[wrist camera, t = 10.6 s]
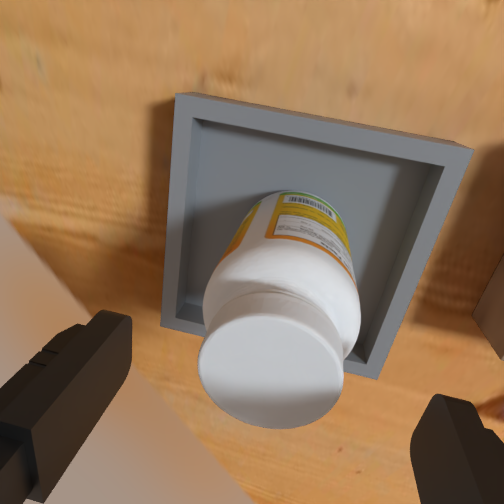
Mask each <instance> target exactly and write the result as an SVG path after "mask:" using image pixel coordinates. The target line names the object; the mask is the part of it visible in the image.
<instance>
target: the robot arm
mask: <svg viewBox="0 0 504 504" xmlns="http://www.w3.org/2000/svg"><path fill="white" fill-rule="evenodd" d="M131 361H132V319H131V317H130V316H127V315H123V314H119V313H115V312H111V311H107V310H101V311H99V312H98V313H97V314H96V315H95V316H94V317H93V318H92V319H91V320H90V322H89V323H88V324H87V325H86V326H85V325H81V324H76V325H74V326H72V327H70V328H68V329H67V330H64V331H62V332H60V333H58V334H57V335H56V336H55V337H54V338H53V339H52V340H51V341H49V342H48V343H47V344H46V345H45V346H44V347H43V348H42V351H41V352H38V353H37V354H36V355H35V356H34V357H33V358H32V359H31V360H29V363H28V364H25V365H24V366H23V367H22V368H21V369H20V370H19V371H18V372H17V373H16V374H15V375H14V376H13V377H12V378H11V379H10V380H8V381H7V382H6V383H5V384H4V385H3V386H2V387H1V388H0V504H23V502H24V501H25V499H26V498H27V499H30V500H33V501H37V502H40V503H44V502H45V501H46V499H47V498H48V496H49V495H50V493H51V492H52V490H53V489H54V487H55V486H56V484H57V483H58V481H59V480H60V478H61V477H62V475H63V473H64V472H65V470H66V469H67V467H68V466H69V464H70V462H71V461H72V460H73V458H74V457H75V455H76V454H77V452H78V450H79V449H80V447H81V446H82V444H83V443H84V442H85V440H86V438H87V437H88V435H89V434H90V433H91V431H92V430H93V428H94V427H95V425H96V423H97V422H98V421H99V419H100V417H101V416H102V414H103V413H104V411H105V410H106V408H107V407H108V405H109V404H110V402H111V401H112V399H113V398H114V396H115V395H116V393H117V392H118V390H119V389H120V387H121V386H122V384H123V383H124V381H125V379H126V377H127V375H128V372H129V369H130V366H131ZM410 457H411V462H412V467H413V471H414V476H415V480H416V484H417V489H418V493H419V497H420V502H421V504H504V443H503V442H502V441H501V440H500V438H499V437H498V436H497V435H496V434H495V433H494V431H493V430H491V429H487V428H484V426H483V424H482V421H481V419H480V417H479V415H478V413H477V411H476V408H475V407H474V405H473V404H472V403H471V402H469V401H466V400H462V399H458V398H454V397H450V396H446V395H442V394H435V395H434V396H433V397H432V399H431V400H430V402H429V404H428V406H427V408H426V410H425V412H424V413H423V415H422V417H421V419H420V421H419V423H418V425H417V426H416V428H415V430H414V432H413V434H412V438H411V443H410Z"/></svg>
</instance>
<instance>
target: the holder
mask: <svg viewBox="0 0 504 504" xmlns="http://www.w3.org/2000/svg"><path fill="white" fill-rule="evenodd" d="M472 317H473V319H474V320H475V322H476V323H477V325H478V326H479V328H480V329H481V331H482V332H483V334H484V335H485V337H486V338H487V340H488V341H489V343H490V344H491V346H492V347H493V349H494V350H495V352H496V353H497V355H498V356H499V358H500V359H501V360H503V361H504V255H503V256H502V258H501V260H500V262H499V264H498V266H497V268H496V270H495V272H494V274H493V276H492V278H491V279H490V281H489V283H488V285H487V287H486V289H485V291H484V293H483V295H482V297H481V299H480V301H479V302H478V304H477V306H476V308H475V310H474V312H473V314H472Z"/></svg>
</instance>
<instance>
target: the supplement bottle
mask: <svg viewBox="0 0 504 504" xmlns="http://www.w3.org/2000/svg"><path fill="white" fill-rule="evenodd" d="M202 309H203V319H204V324H205V327H206V330H207V333H206V335H205V338H204V340H203V342H202V345H201V347H200V350H199V354H198V373H199V377H200V380H201V383H202V385H203V388H204V389H205V391H206V393H207V394H208V395H209V397H210V398H211V399H212V400H213V402H214V403H215V404H216V405H217V406H219V407H220V408H221V409H222V410H223V411H225V412H226V413H228V414H229V415H231V416H233V417H234V418H236V419H238V420H240V421H243V422H245V423H248V424H251V425H254V426H259V427H263V428H270V429H290V428H296V427H300V426H304V425H307V424H310V423H312V422H314V421H316V420H318V419H320V418H321V417H323V416H324V415H325V414H326V413H328V412H329V411H330V410H331V409H332V407H333V406H334V405H335V403H336V402H337V400H338V399H339V396H340V394H341V391H342V387H343V378H344V375H343V360H344V359H345V358H346V357H347V356H348V354H349V353H350V352H351V350H352V348H353V347H354V345H355V343H356V340H357V338H358V335H359V330H360V324H361V311H360V301H359V295H358V290H357V285H356V280H355V275H354V269H353V265H352V259H351V253H350V247H349V241H348V236H347V232H346V228H345V225H344V223H343V220H342V219H341V217H340V215H339V214H338V212H337V211H336V210H335V209H334V208H333V207H332V206H331V205H330V204H329V203H328V202H326V201H325V200H323V199H322V198H320V197H318V196H316V195H314V194H311V193H308V192H303V191H295V190H289V191H281V192H277V193H274V194H271V195H269V196H267V197H265V198H263V199H262V200H260V201H259V202H258V203H256V204H255V205H254V206H253V207H252V208H251V210H250V211H249V212H248V214H247V215H246V216H245V218H244V220H243V221H242V223H241V225H240V227H239V229H238V230H237V232H236V234H235V236H234V238H233V239H232V241H231V243H230V244H229V246H228V248H227V250H226V251H225V253H224V255H223V256H222V258H221V259H220V261H219V263H218V265H217V266H216V268H215V270H214V271H213V273H212V276H211V278H210V280H209V282H208V284H207V287H206V290H205V294H204V299H203V308H202Z"/></svg>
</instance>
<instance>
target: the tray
mask: <svg viewBox="0 0 504 504" xmlns="http://www.w3.org/2000/svg"><path fill="white" fill-rule="evenodd" d="M473 152H474V150H473V149H471V148H469V147H466V146H464V145H461V144H459V143H456V142H454V141H449V140H444V139H438V138H433V137H428V136H422V135H417V134H412V133H407V132H401V131H396V130H391V129H385V128H380V127H375V126H370V125H364V124H359V123H354V122H348V121H343V120H338V119H333V118H327V117H322V116H317V115H311V114H306V113H301V112H296V111H290V110H285V109H280V108H274V107H269V106H264V105H259V104H253V103H248V102H243V101H237V100H232V99H227V98H221V97H216V96H211V95H206V94H200V93H195V92H188V93H175V109H174V124H173V139H172V154H171V170H170V185H169V200H168V215H167V231H166V246H165V261H164V277H163V292H162V307H161V322H160V326H162V327H166V328H170V329H174V330H178V331H182V332H186V333H190V334H194V335H198V336H202V337H205V335H206V333H207V330H206V327H205V324H204V319H203V309H202V308H203V299H204V294H205V290H206V287H207V284H208V282H209V280H210V278H211V276H212V273H213V271H214V270H215V268H216V266H217V265H218V263H219V261H220V259H221V258H222V256H223V255H224V253H225V251H226V250H227V248H228V246H229V244H230V243H231V241H232V239H233V238H234V236H235V234H236V232H237V230H238V229H239V227H240V225H241V223H242V221H243V220H244V218H245V216H246V215H247V214H248V212H249V211H250V210H251V208H252V207H253V206H254V205H255V204H256V203H258V202H259V201H260V200H262V199H263V198H265V197H267V196H269V195H271V194H274V193H277V192H281V191H289V190H295V191H303V192H308V193H311V194H314V195H316V196H318V197H320V198H322V199H323V200H325V201H326V202H328V203H329V204H330V205H331V206H332V207H333V208H334V209H335V210H336V211H337V212H338V214H339V215H340V217H341V219H342V220H343V223H344V225H345V228H346V232H347V236H348V241H349V247H350V253H351V259H352V265H353V269H354V275H355V280H356V285H357V290H358V295H359V301H360V311H361V324H360V330H359V335H358V338H357V340H356V343H355V345H354V347H353V348H352V350H351V352H350V353H349V354H348V356H347V357H346V358H345V359H344V360H343V372H347V373H352V374H356V375H360V376H364V377H368V378H372V379H376V380H377V379H378V377H379V374H380V372H381V370H382V367H383V365H384V363H385V360H386V358H387V355H388V353H389V351H390V348H391V346H392V344H393V341H394V339H395V337H396V334H397V332H398V329H399V327H400V325H401V322H402V320H403V318H404V315H405V313H406V311H407V308H408V306H409V303H410V301H411V299H412V296H413V294H414V292H415V289H416V287H417V285H418V282H419V280H420V277H421V275H422V273H423V270H424V268H425V266H426V263H427V261H428V259H429V256H430V254H431V251H432V249H433V247H434V244H435V242H436V240H437V237H438V235H439V232H440V230H441V228H442V225H443V223H444V221H445V218H446V216H447V214H448V211H449V209H450V206H451V204H452V202H453V199H454V197H455V195H456V192H457V190H458V188H459V185H460V183H461V180H462V178H463V176H464V173H465V171H466V169H467V166H468V164H469V162H470V159H471V157H472V154H473Z"/></svg>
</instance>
